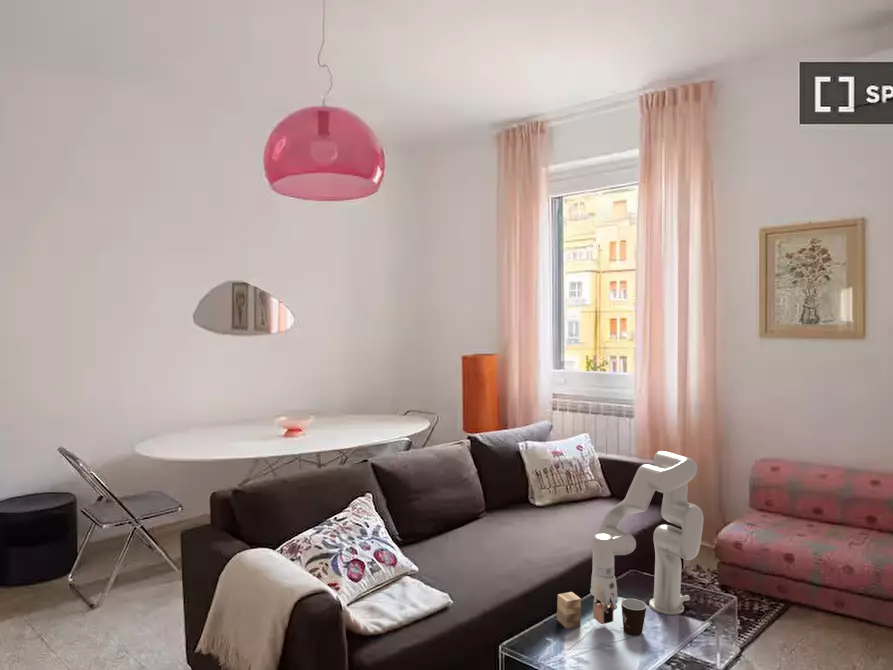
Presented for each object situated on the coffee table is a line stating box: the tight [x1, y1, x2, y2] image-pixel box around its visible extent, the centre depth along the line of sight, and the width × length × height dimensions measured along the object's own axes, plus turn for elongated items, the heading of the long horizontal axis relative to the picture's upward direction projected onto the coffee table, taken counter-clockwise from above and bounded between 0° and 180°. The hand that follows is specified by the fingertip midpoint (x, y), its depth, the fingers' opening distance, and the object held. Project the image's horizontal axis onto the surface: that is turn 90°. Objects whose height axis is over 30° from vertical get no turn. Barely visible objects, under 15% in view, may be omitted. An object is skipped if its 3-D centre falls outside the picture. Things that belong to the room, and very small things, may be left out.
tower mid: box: [556, 591, 582, 615], centre depth 241 cm, size 6×6×5 cm
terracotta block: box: [592, 602, 614, 625], centre depth 239 cm, size 5×5×5 cm
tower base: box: [556, 608, 581, 629], centre depth 242 cm, size 6×6×5 cm
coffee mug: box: [620, 598, 648, 637], centre depth 238 cm, size 12×9×10 cm
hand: (603, 618), depth 239 cm, fingers closed on terracotta block, 5 cm apart
